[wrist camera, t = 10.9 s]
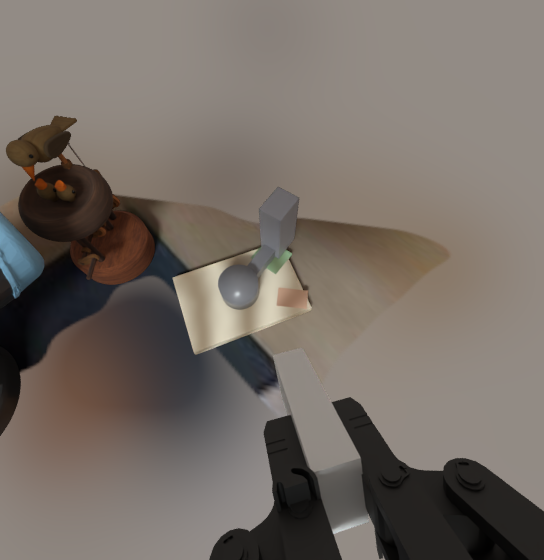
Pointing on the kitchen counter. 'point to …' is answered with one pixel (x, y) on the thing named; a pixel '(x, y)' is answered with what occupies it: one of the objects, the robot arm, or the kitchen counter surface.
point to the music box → (79, 208)
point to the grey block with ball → (261, 250)
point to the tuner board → (231, 322)
